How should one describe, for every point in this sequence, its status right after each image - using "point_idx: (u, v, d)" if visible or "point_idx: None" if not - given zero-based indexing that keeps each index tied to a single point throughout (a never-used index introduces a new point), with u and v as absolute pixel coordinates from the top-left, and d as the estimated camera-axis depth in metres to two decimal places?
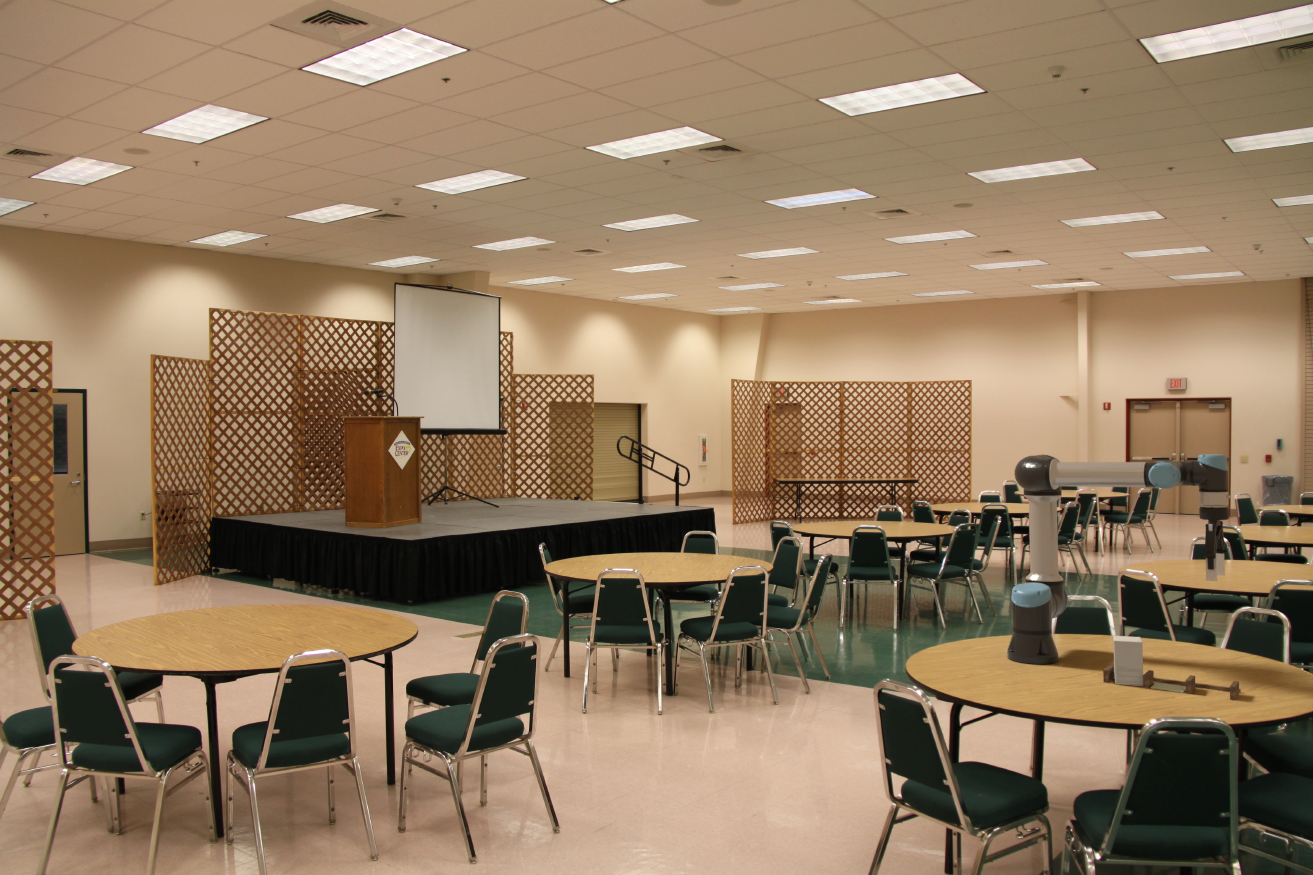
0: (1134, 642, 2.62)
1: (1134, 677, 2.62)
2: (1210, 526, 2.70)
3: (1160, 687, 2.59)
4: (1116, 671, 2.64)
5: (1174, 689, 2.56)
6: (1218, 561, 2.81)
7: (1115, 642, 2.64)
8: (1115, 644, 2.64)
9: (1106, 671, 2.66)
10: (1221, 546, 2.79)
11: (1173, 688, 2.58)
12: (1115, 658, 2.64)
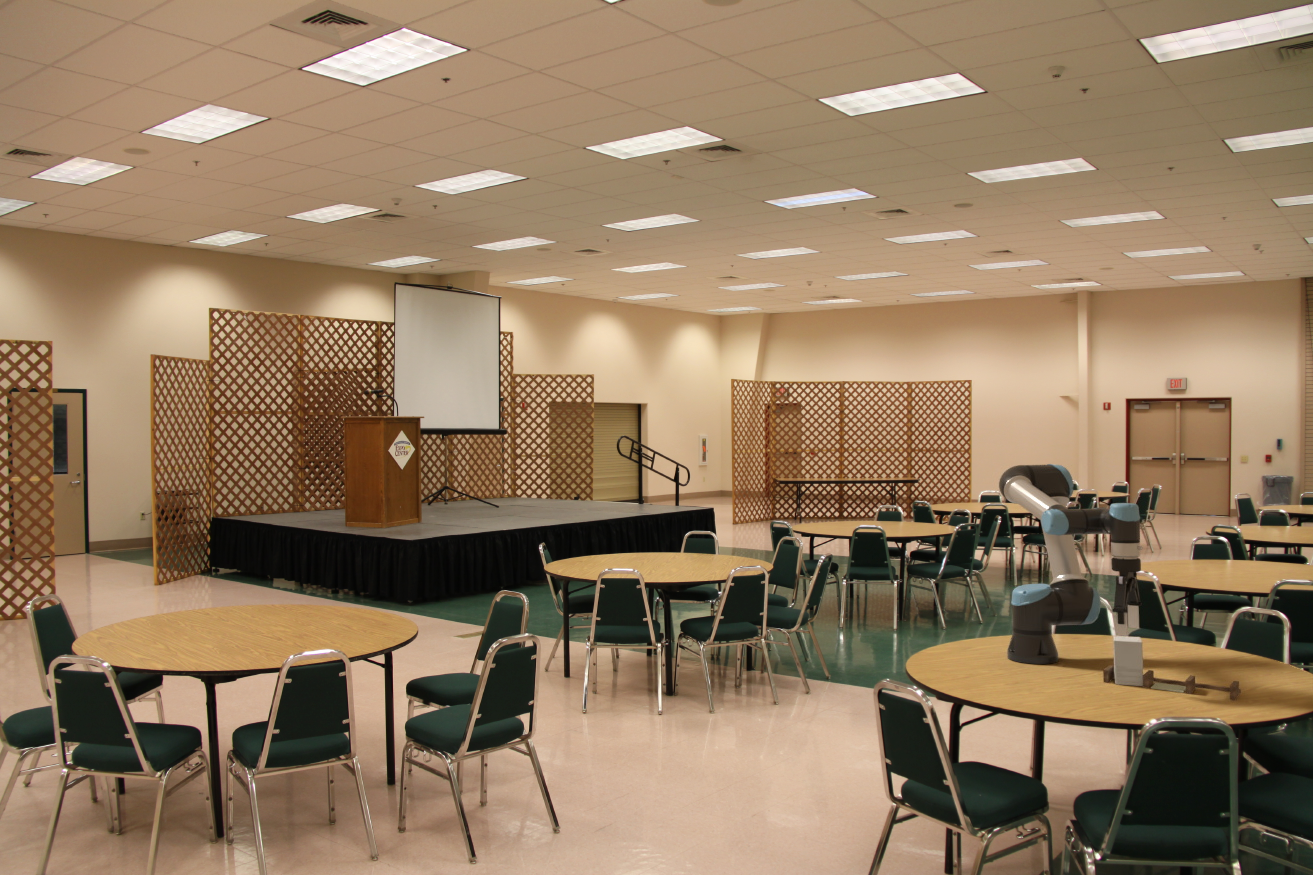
0: (1134, 642, 2.62)
1: (1134, 677, 2.62)
2: (1120, 579, 2.61)
3: (1160, 687, 2.59)
4: (1116, 671, 2.64)
5: (1174, 689, 2.56)
6: (1132, 614, 2.71)
7: (1115, 642, 2.64)
8: (1115, 644, 2.64)
9: (1106, 671, 2.66)
10: (1135, 598, 2.70)
11: (1173, 688, 2.58)
12: (1115, 658, 2.64)
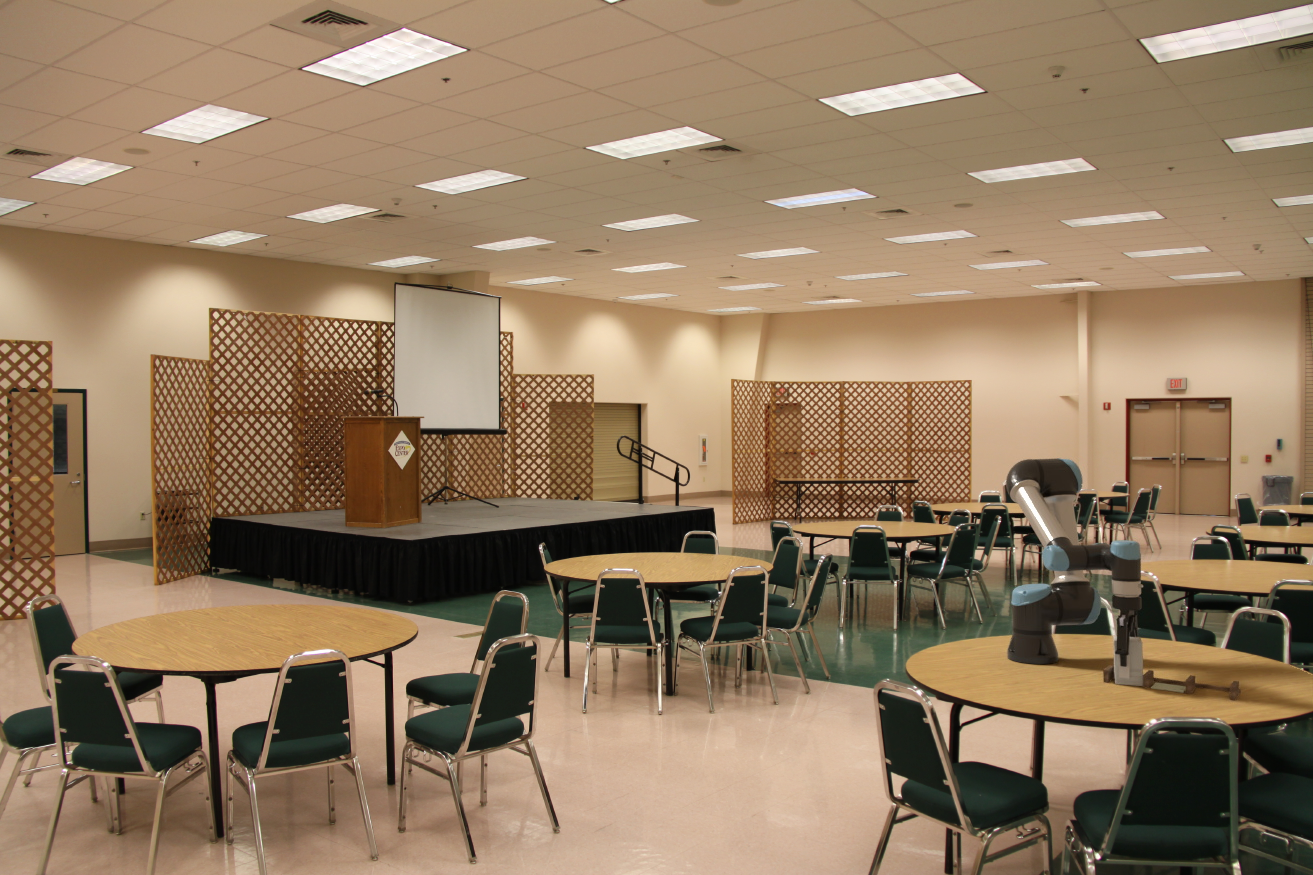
0: (1134, 642, 2.62)
1: (1134, 677, 2.62)
2: (1121, 621, 2.61)
3: (1160, 687, 2.59)
4: (1116, 671, 2.64)
5: (1174, 689, 2.56)
6: None
7: (1115, 642, 2.64)
8: (1115, 644, 2.64)
9: (1106, 671, 2.66)
10: None
11: (1173, 688, 2.58)
12: (1115, 658, 2.64)
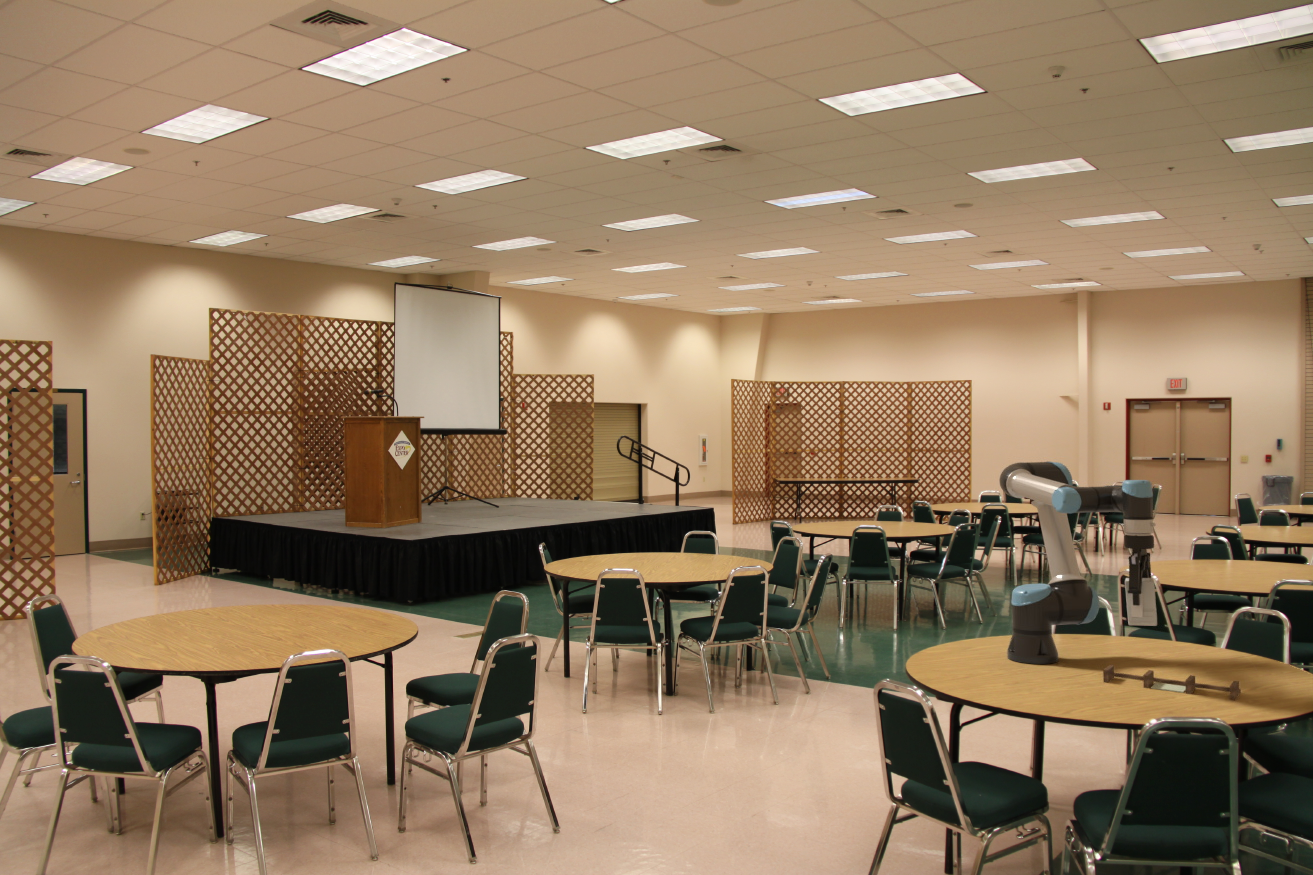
0: (1145, 581, 2.60)
1: (1147, 617, 2.59)
2: (1133, 560, 2.58)
3: (1160, 687, 2.59)
4: (1128, 612, 2.62)
5: (1174, 689, 2.56)
6: None
7: (1126, 582, 2.62)
8: (1126, 584, 2.62)
9: (1106, 671, 2.66)
10: None
11: (1173, 688, 2.58)
12: (1127, 599, 2.62)
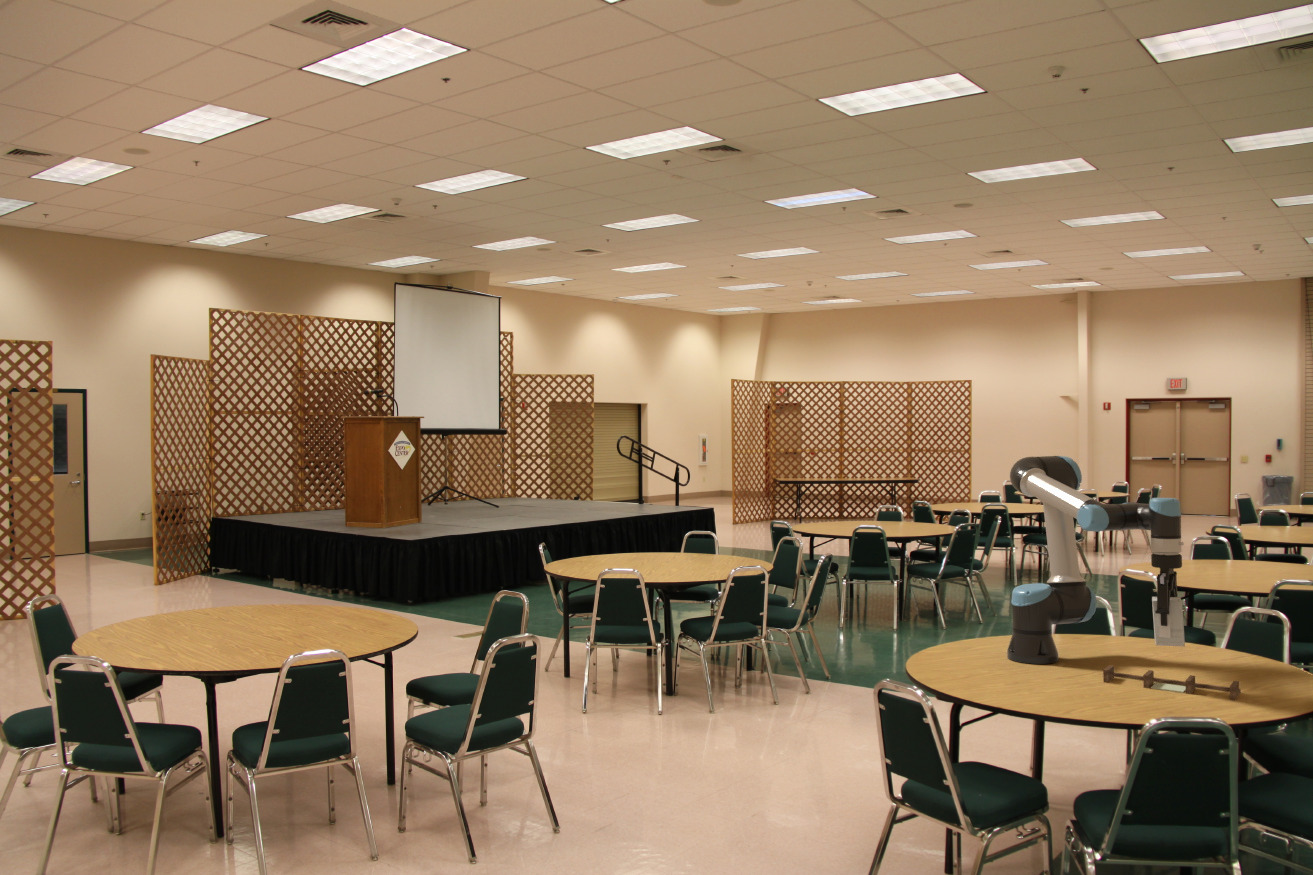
0: (1173, 601, 2.56)
1: (1175, 637, 2.55)
2: (1161, 579, 2.54)
3: (1160, 687, 2.59)
4: (1156, 632, 2.57)
5: (1174, 689, 2.56)
6: None
7: (1154, 602, 2.58)
8: (1154, 604, 2.58)
9: (1106, 671, 2.66)
10: None
11: (1173, 688, 2.58)
12: (1154, 619, 2.58)
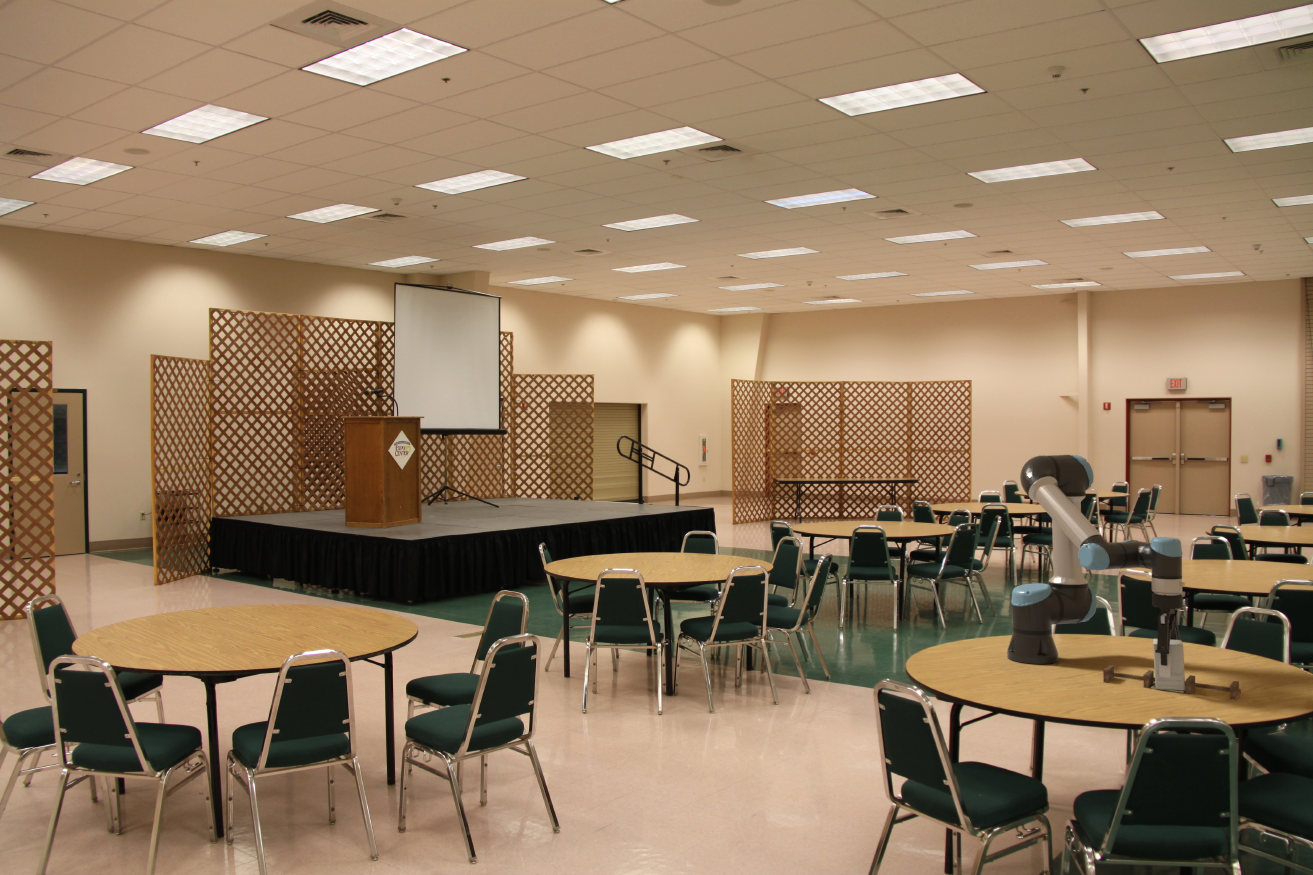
0: (1174, 645, 2.56)
1: (1175, 681, 2.55)
2: (1162, 619, 2.54)
3: None
4: (1156, 675, 2.58)
5: None
6: None
7: (1155, 645, 2.58)
8: (1155, 647, 2.58)
9: (1106, 671, 2.66)
10: (1175, 637, 2.62)
11: None
12: (1155, 662, 2.58)
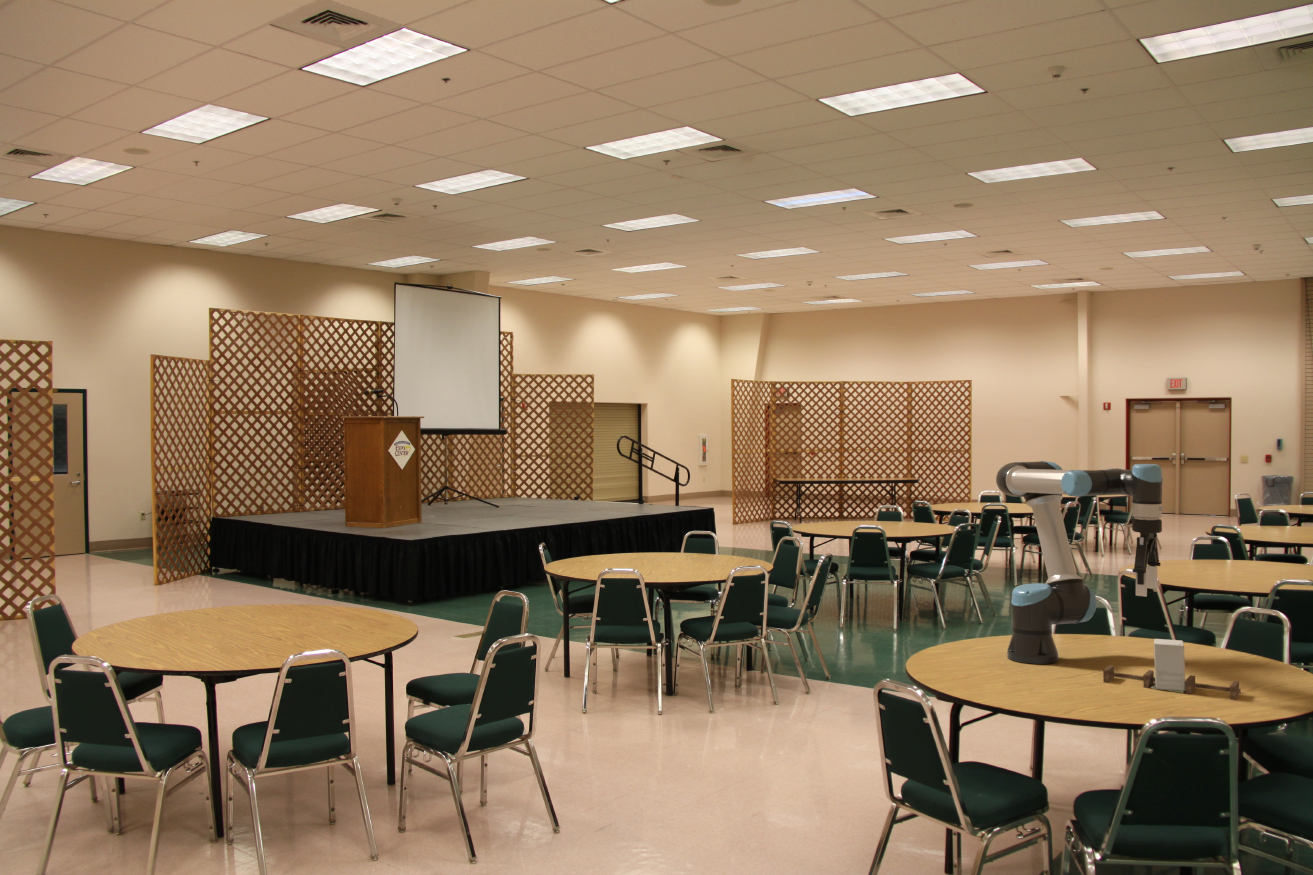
0: (1175, 645, 2.55)
1: (1176, 681, 2.55)
2: (1141, 540, 2.61)
3: None
4: (1156, 675, 2.57)
5: None
6: (1151, 574, 2.71)
7: (1155, 645, 2.58)
8: (1155, 647, 2.58)
9: (1106, 671, 2.66)
10: (1154, 559, 2.70)
11: None
12: (1155, 662, 2.58)
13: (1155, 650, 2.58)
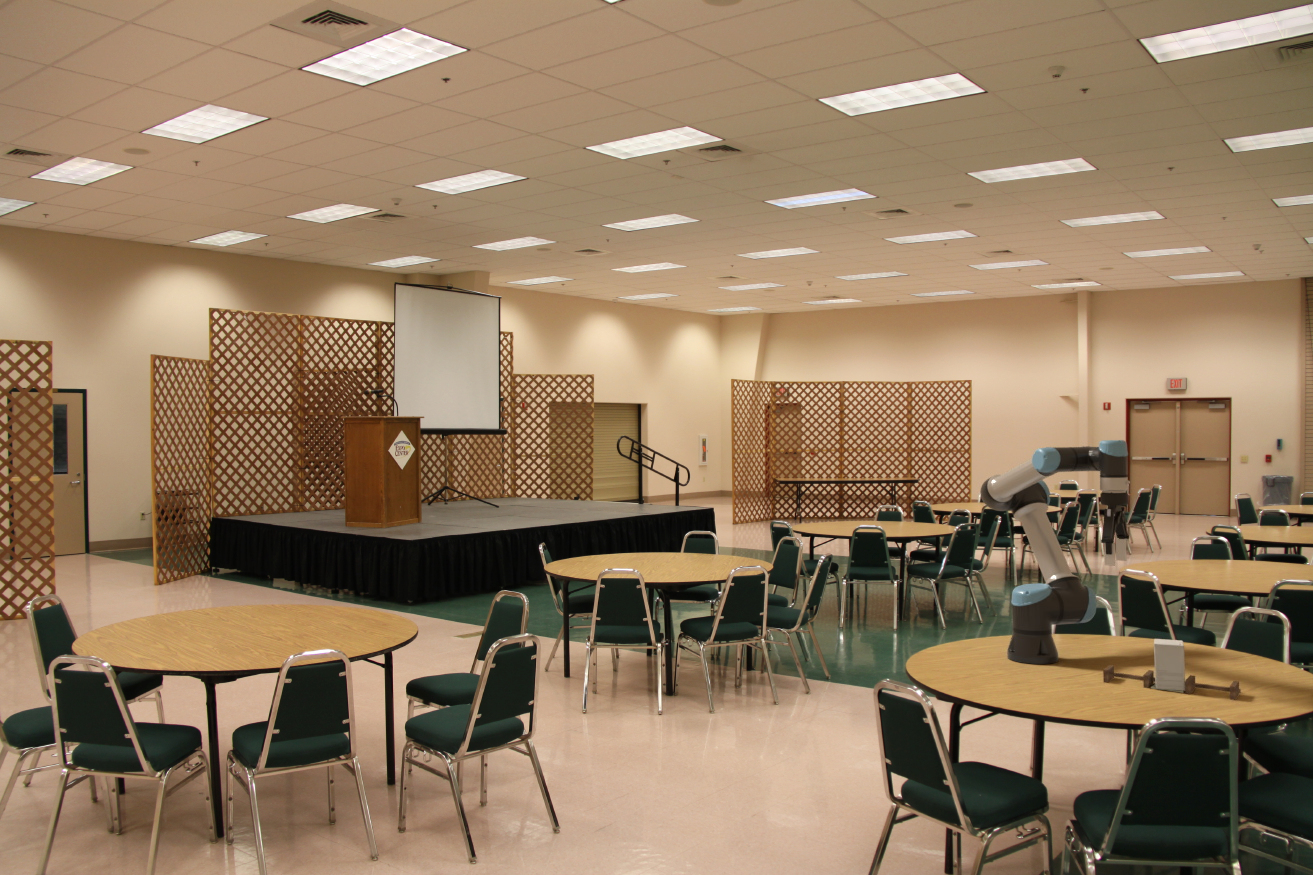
0: (1175, 645, 2.55)
1: (1176, 681, 2.55)
2: (1108, 512, 2.72)
3: None
4: (1156, 675, 2.57)
5: None
6: (1120, 547, 2.82)
7: (1155, 645, 2.58)
8: (1155, 647, 2.58)
9: (1106, 671, 2.66)
10: (1123, 532, 2.81)
11: None
12: (1155, 662, 2.58)
13: (1155, 650, 2.58)
